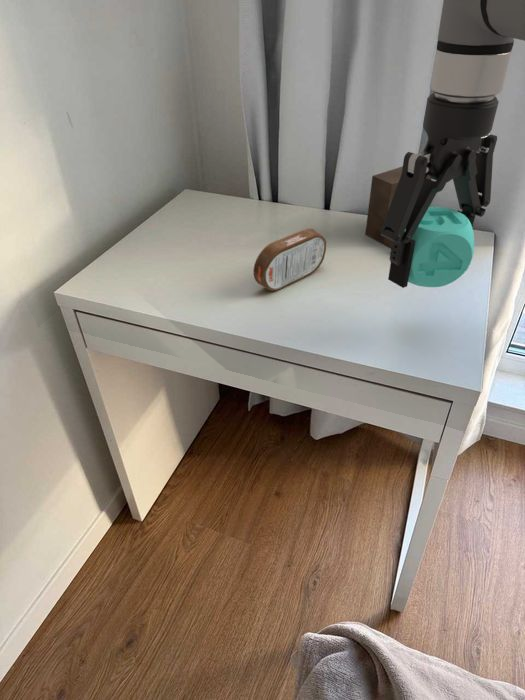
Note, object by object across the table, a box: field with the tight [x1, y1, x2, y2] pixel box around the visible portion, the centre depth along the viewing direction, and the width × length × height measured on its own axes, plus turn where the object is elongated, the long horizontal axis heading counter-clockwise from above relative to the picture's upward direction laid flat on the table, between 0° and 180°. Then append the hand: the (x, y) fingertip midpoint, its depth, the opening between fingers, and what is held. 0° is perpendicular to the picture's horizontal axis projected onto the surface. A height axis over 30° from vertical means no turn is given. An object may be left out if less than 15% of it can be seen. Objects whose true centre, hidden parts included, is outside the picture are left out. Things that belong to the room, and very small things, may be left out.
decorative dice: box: [405, 205, 475, 288], centre depth 66 cm, size 8×8×8 cm
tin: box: [253, 227, 327, 292], centre depth 85 cm, size 15×3×8 cm, turn 130°
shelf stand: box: [364, 165, 432, 249], centre depth 94 cm, size 16×11×12 cm
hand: (426, 269), depth 69 cm, fingers closed on decorative dice, 11 cm apart
